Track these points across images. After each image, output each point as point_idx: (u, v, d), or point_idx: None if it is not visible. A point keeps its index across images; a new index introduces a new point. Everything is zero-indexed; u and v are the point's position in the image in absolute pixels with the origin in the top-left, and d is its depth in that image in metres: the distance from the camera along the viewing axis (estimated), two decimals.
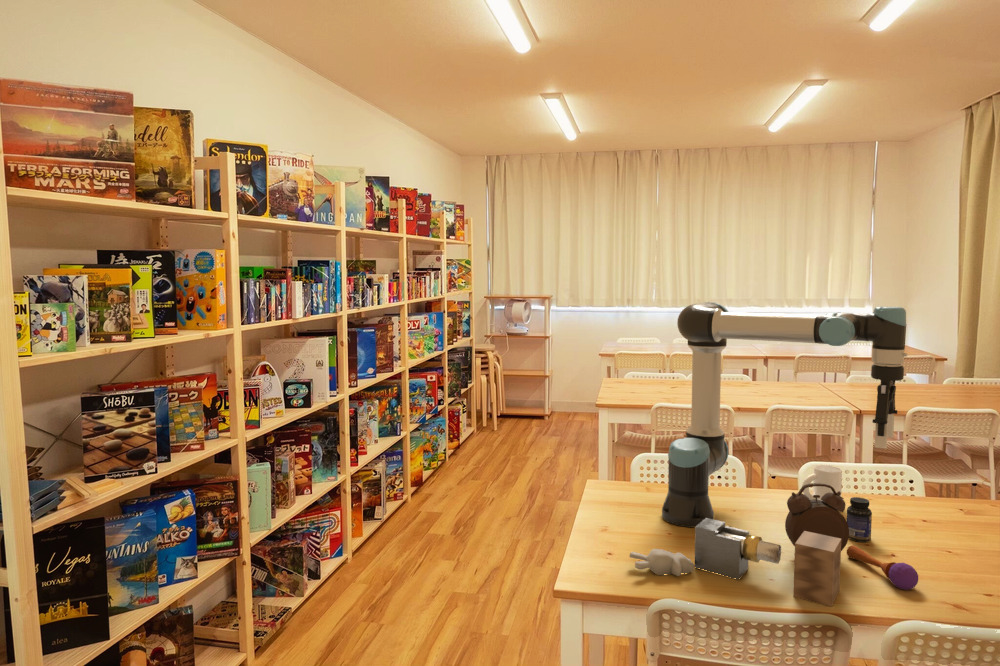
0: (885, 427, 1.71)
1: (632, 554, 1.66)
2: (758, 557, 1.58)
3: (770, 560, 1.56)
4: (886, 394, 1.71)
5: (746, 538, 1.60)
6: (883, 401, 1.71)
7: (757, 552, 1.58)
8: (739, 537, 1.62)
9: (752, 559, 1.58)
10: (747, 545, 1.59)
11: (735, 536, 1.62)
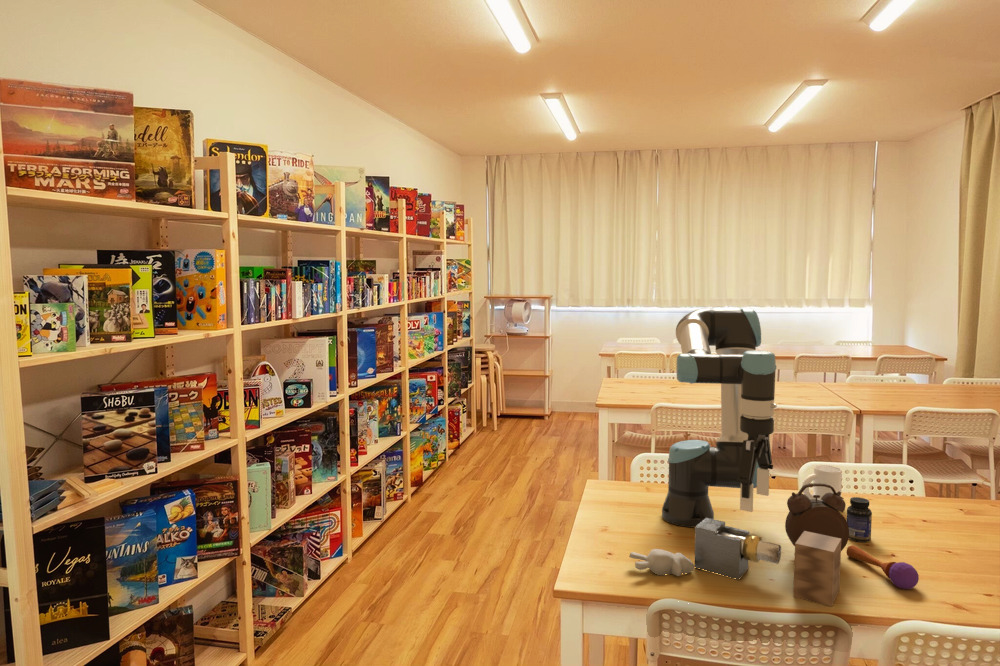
0: (750, 488, 1.52)
1: (632, 554, 1.66)
2: (758, 557, 1.58)
3: (770, 560, 1.56)
4: (751, 451, 1.52)
5: (746, 538, 1.60)
6: (747, 459, 1.52)
7: (757, 552, 1.58)
8: (739, 537, 1.62)
9: (752, 559, 1.58)
10: (747, 545, 1.59)
11: (735, 536, 1.62)
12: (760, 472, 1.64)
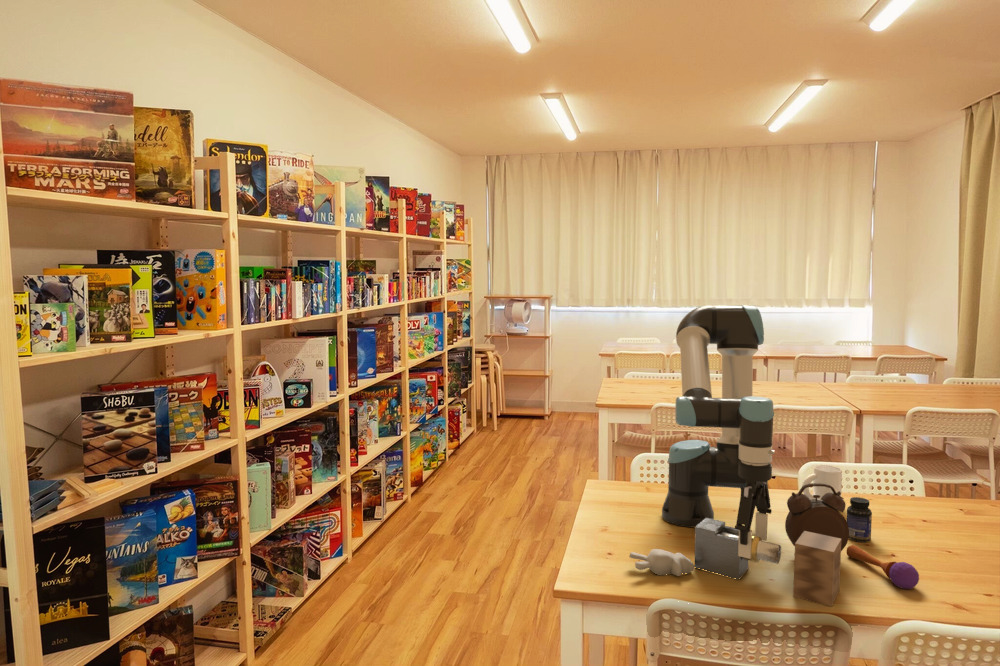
0: (748, 535, 1.53)
1: (632, 554, 1.66)
2: (758, 557, 1.58)
3: (770, 560, 1.56)
4: (749, 498, 1.53)
5: None
6: (745, 506, 1.53)
7: (757, 552, 1.58)
8: None
9: (752, 559, 1.58)
10: None
11: (735, 536, 1.62)
12: (758, 516, 1.65)
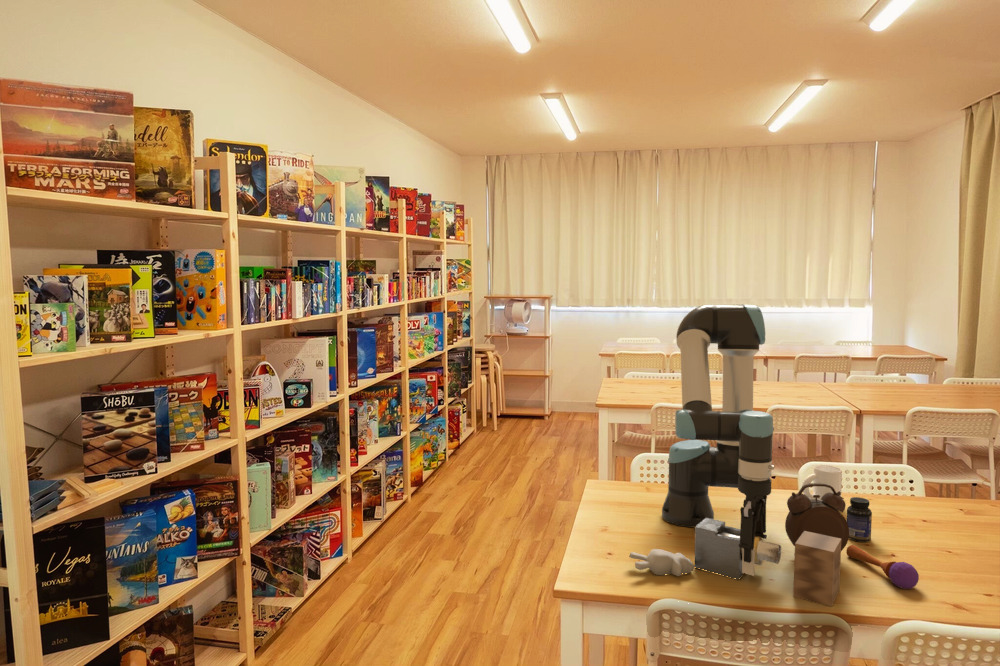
0: (752, 552, 1.57)
1: (632, 554, 1.66)
2: (758, 557, 1.58)
3: (770, 560, 1.56)
4: (749, 518, 1.54)
5: None
6: (746, 526, 1.54)
7: (757, 552, 1.58)
8: (739, 537, 1.62)
9: None
10: None
11: (735, 536, 1.62)
12: None
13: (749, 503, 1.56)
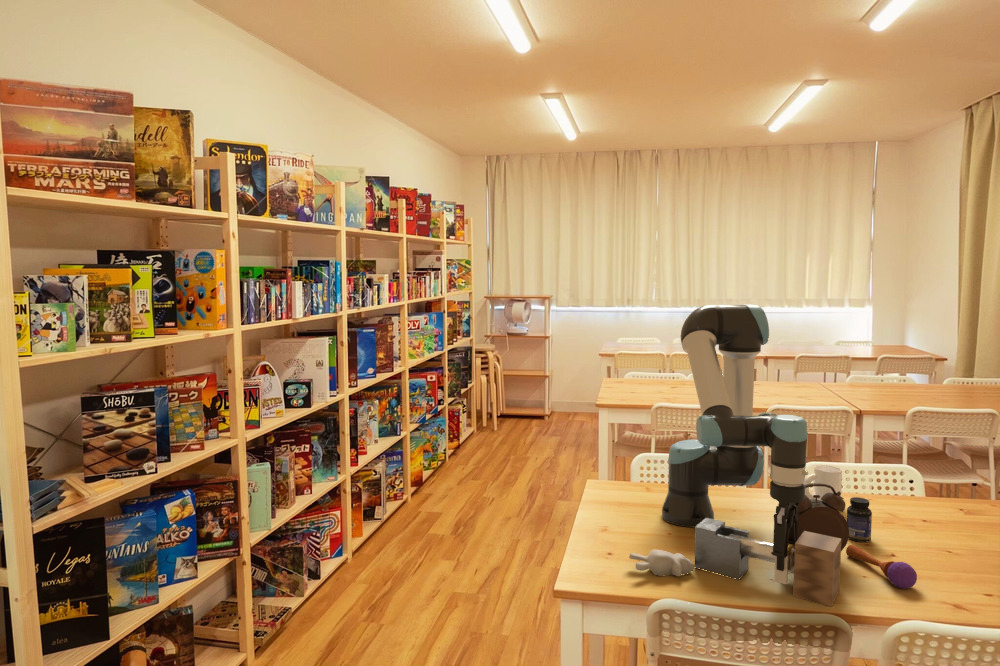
0: (785, 560, 1.52)
1: (632, 555, 1.65)
2: (791, 565, 1.53)
3: None
4: (783, 525, 1.50)
5: None
6: (780, 533, 1.50)
7: (790, 560, 1.53)
8: (771, 544, 1.57)
9: None
10: None
11: (767, 543, 1.58)
12: None
13: (782, 510, 1.52)
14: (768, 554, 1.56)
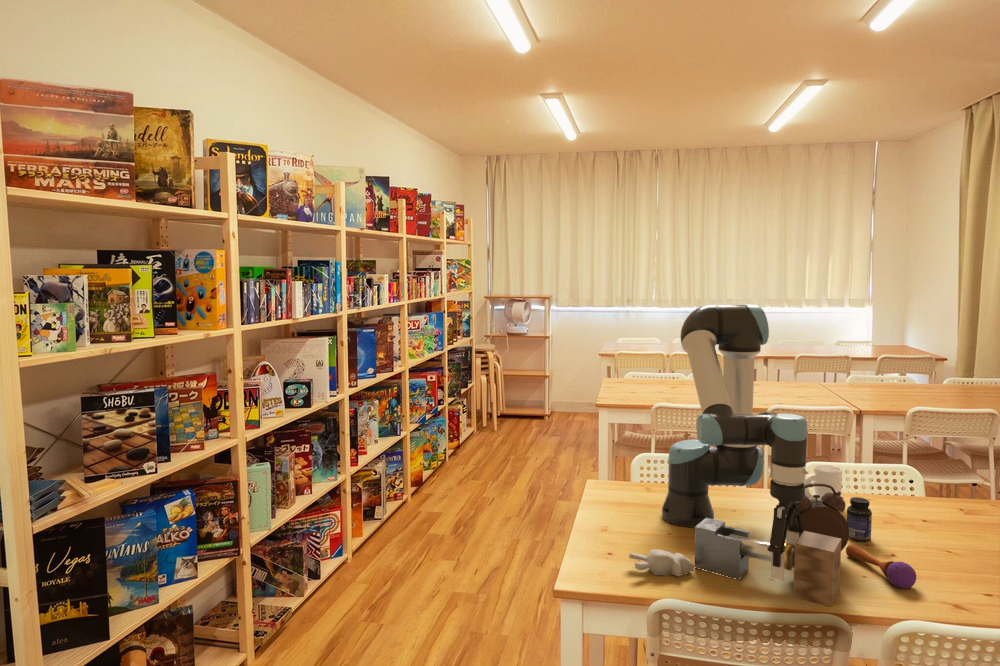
0: (781, 556, 1.49)
1: (632, 555, 1.66)
2: (791, 565, 1.53)
3: None
4: (782, 519, 1.49)
5: None
6: (778, 527, 1.49)
7: (790, 560, 1.53)
8: None
9: (785, 567, 1.54)
10: None
11: (767, 543, 1.58)
12: (789, 535, 1.61)
13: (783, 507, 1.52)
14: (768, 554, 1.56)
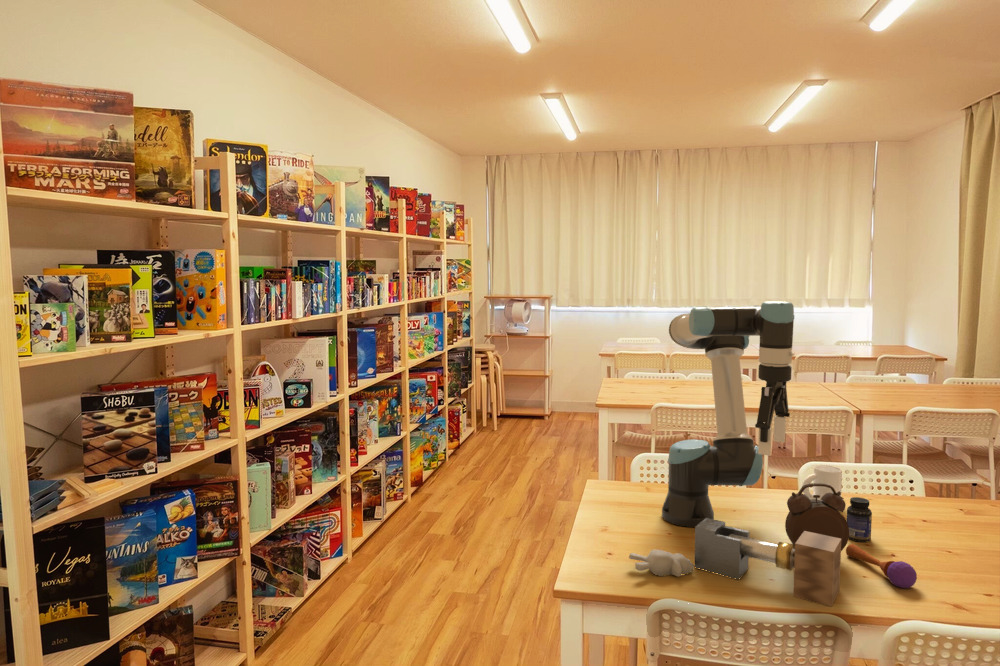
0: (768, 432, 1.58)
1: (632, 555, 1.65)
2: (791, 565, 1.53)
3: None
4: (769, 397, 1.57)
5: (779, 545, 1.55)
6: (765, 404, 1.57)
7: (790, 560, 1.53)
8: (771, 544, 1.57)
9: (785, 567, 1.54)
10: (780, 553, 1.54)
11: (767, 543, 1.58)
12: (777, 420, 1.70)
13: (770, 387, 1.60)
14: (768, 554, 1.56)
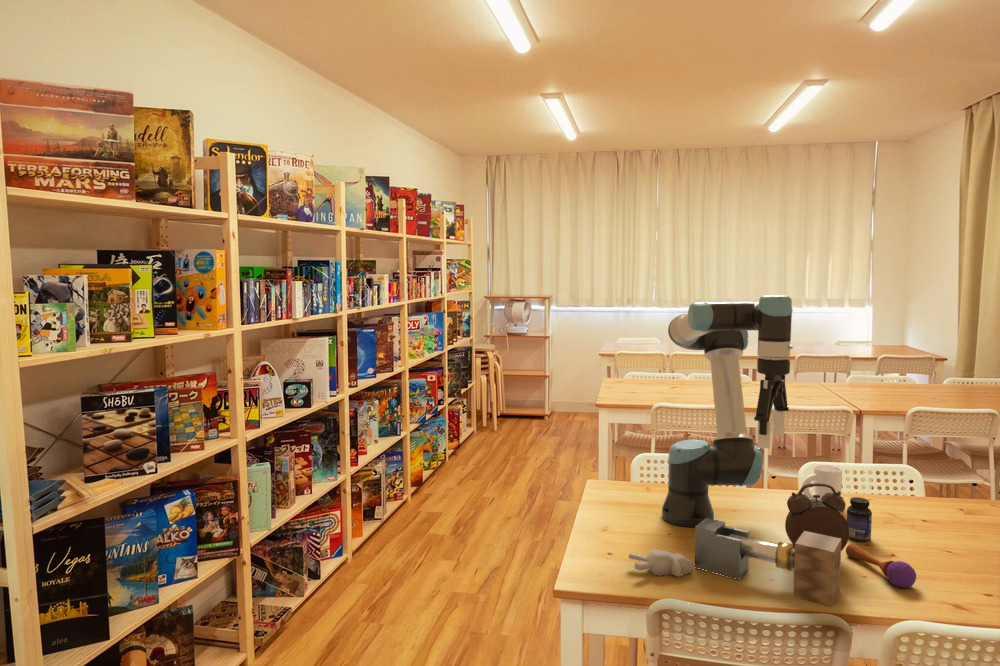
0: (767, 425, 1.59)
1: (631, 555, 1.65)
2: (791, 565, 1.53)
3: None
4: (768, 389, 1.58)
5: (779, 545, 1.55)
6: (764, 397, 1.58)
7: (790, 560, 1.53)
8: (771, 544, 1.57)
9: (785, 567, 1.54)
10: (780, 553, 1.54)
11: (767, 543, 1.58)
12: (776, 414, 1.70)
13: None
14: (768, 554, 1.56)
